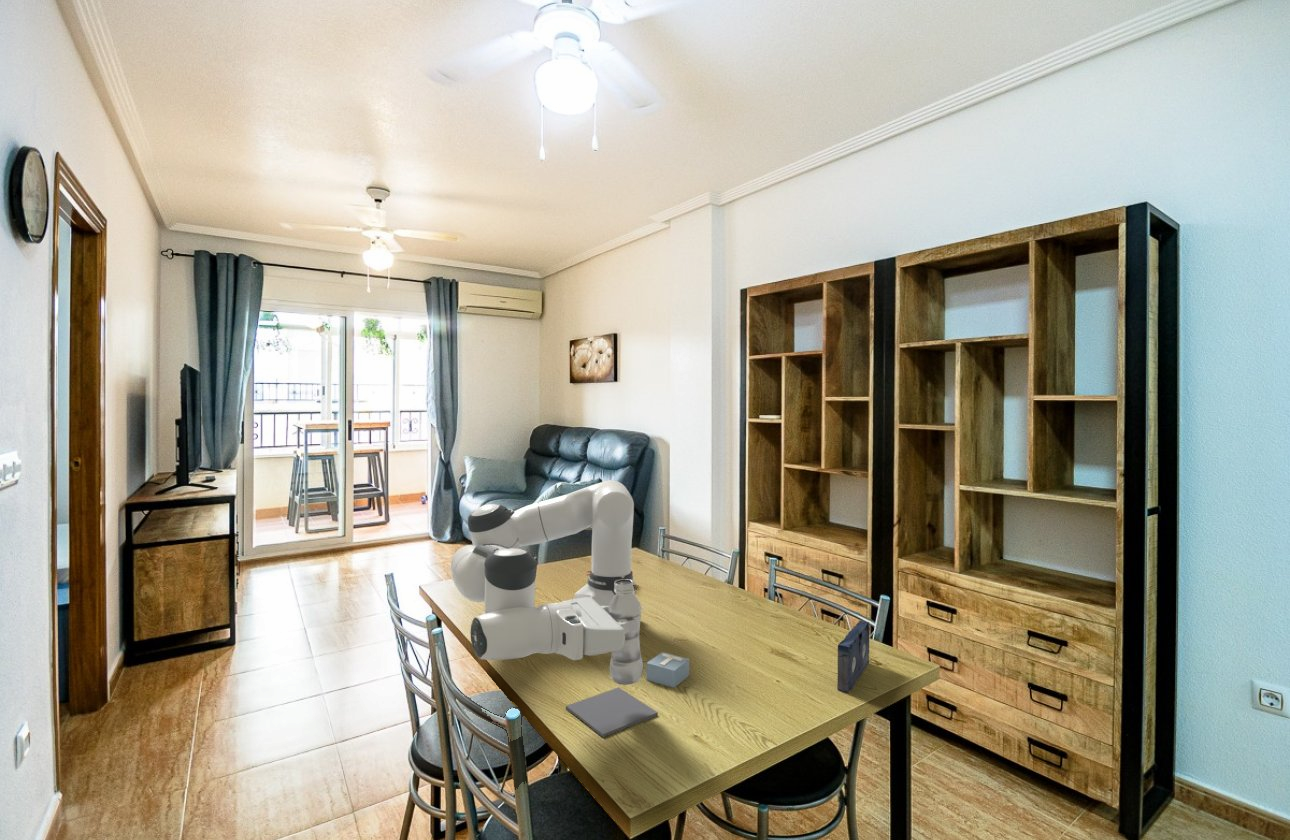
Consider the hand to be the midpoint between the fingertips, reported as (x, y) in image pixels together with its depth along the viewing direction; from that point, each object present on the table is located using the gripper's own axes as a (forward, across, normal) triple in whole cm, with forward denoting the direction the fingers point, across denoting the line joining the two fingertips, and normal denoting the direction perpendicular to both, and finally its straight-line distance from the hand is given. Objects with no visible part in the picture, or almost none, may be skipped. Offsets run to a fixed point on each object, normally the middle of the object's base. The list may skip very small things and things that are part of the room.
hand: (629, 617), depth 119 cm
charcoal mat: (-3, -1, -19) cm, 19 cm away
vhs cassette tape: (+53, +5, -19) cm, 57 cm away
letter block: (+14, -10, -19) cm, 25 cm away
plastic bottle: (0, 0, -13) cm, 13 cm away
